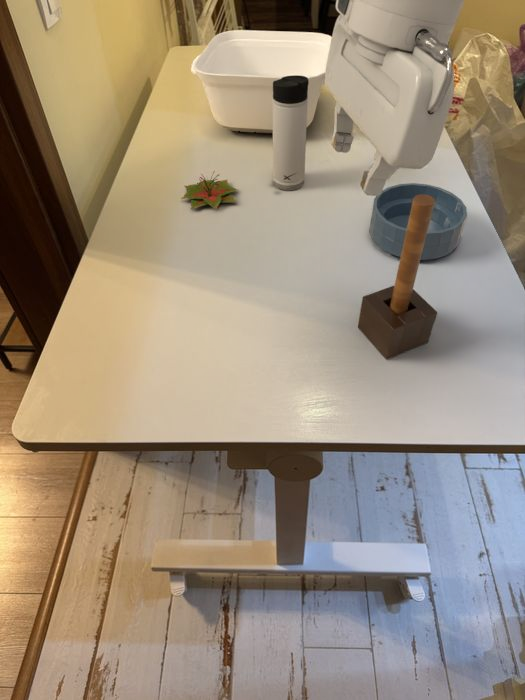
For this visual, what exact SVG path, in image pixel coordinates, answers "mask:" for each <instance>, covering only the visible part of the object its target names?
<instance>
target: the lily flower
mask: <svg viewBox="0 0 525 700" xmlns="http://www.w3.org/2000/svg"><path fill="white" fill-rule="evenodd" d="M214 173H215V170H213V172H212V175H214ZM200 175H201V176H202V177H201V176H199V178H198V180H199V182H197V183H196V184H195V183H194V184H188V185H184V188H185V189H186V191H187V192H186V193H184V195H183V196H182V197H180V200H183V199H185V200H186V199H191V201H190V207H191V208H190V210H194V209H197V208H199V207H202V206H207V205H209V206H211V208H214V210H216V211H217V209H218V207H219V205H220V203H237V200H236V199H235V197H234V196H233V195H232V194H231V193H233V192H236V191H239V189H237V188H235V187H233V186H231V185H229V182H228V179H223V180H219V179H218V178H217V177H219V176H220V173H219V174H217V175H216V176H215V177H214V178H213V176H211V177H210V179H209V177H208V176H206V177H205V176H204V174H203V173H200Z"/></svg>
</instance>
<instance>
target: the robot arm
mask: <svg viewBox="0 0 525 700" xmlns="http://www.w3.org/2000/svg"><path fill="white" fill-rule="evenodd" d="M465 1H466V0H335V10H336V11H337V13H338V14H339V15H338V16H337V17H336V20H335V23H334V26H333V31H332V35H331V37H332V39H331V43H330V48H329V53H328V59H327V64H326V70H325V83H324V85H325V89H326V90H327V91H328V93H329V94H330V95H331V96H332V97H333V99H334V100H335V101H336V103H335V106H334V107H335V108H334V119H333V121H334V123H333V124H334V125H333V126H334V127H333V129H334V130H333V135H332V137H331V141H330V144H331V145H330V146H332V148H333V149H334V151H335V152H337V153H343V154H347V153H349V152H350V150H351V148H352V144H353V141H354V135H353V128H354V124H355V125H356V127H357V128H358V129H359V130H360V131H361V133H362V134H363V135H364V136H365V138H366V139H367V140H368V142H369V143H370V144H371V145H372V147H374V149H375V152H374V155H373V160H374V161H375V162H374V163H373V165H372V166H371V168H370V170H364V171H363V174H362V179H361V181H360V183H359V186H360V188H361V190H362V191H363V192H364V194H365V195H366V196H372V197H376V196H378V195H380V194H381V193H382V191H383V190H384V189H385V185H386V182H387V180H388V179H390V178H391V177H392V176H393V174H395V172H397V170H398V169H411V170H422V169H423V168H425V167H426V166H428V164H430V162H431V161H432V160H433V157H434V156H435V153H436V150H437V148H438V145H439V142H440V139H441V137H442V134H443V132H444V127H445V125H446V121H447V119H448V115H449V112H450V109H451V105H452V102H453V99H454V98H453V97H454V91H455V78H454V77H455V69H454V67H453V64H454V63H453V50H452V48H451V47H450V45H448V44H449V42H450V39H451V37H452V34H453V32H454V30H455V26H456V23H457V21H458V18H459V16H460V14H461V11H462V9H463V6H464V4H465Z"/></svg>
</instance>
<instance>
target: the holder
mask: <svg viewBox="0 0 525 700" xmlns="http://www.w3.org/2000/svg"><path fill="white" fill-rule="evenodd" d="M393 290H394V285H392V286H389V287H386V288H383V289H380V290H377V291H374V292H372V293H369V294H367V295H364V296H362V297H361V298H362V299H361V304H360V305H361V306H360V311H359V317H358V323H357V329H358V330H359V331H360V332H361V333H362V334H363V336H365V337H366V339H367V340H368V341H369V342H370V344H371V345H372V346H373V347H374V348H375V349H376V350H377V351H378V352H379V354H380V355H381V356H382V357H383V358H384V359H385V361H387V360H389V359H392V358H394V357H396V356H399V355H401V354H404V353H407V352H409V351H411V350H414V349H416V348H419V347H421V346H424V345H426V344H428V343H429V341H430V338H431V334H432V331H433V328H434V325H435V322H436V318H437V317H438V311H437V310H436V309H435V308H434V307H433V306H432V305H431V304H429V303H428V302H427V300H425V298H423V297H422V296H421V295H420V294H419V293H418V292H417V291H416V290H415V289H414V288H413V290H412V294H411V298H410V302H409V306H408V310H407V312H405V313H402V314H399V315H396V314H395V313H394V312H393V311H392V310H391V309H390V304H391V299H392V294H393Z"/></svg>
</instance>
